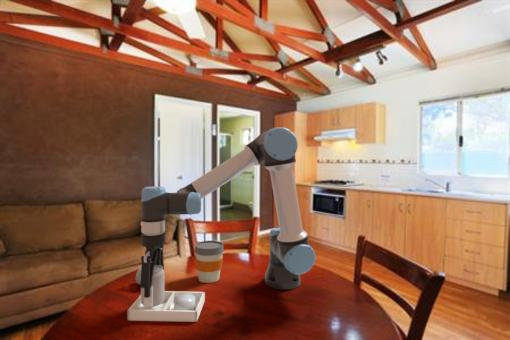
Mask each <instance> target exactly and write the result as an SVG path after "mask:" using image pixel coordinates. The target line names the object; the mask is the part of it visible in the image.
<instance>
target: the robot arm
mask: <svg viewBox="0 0 510 340" xmlns="http://www.w3.org/2000/svg"><path fill="white" fill-rule="evenodd" d="M297 150H298V140H297V137H296V135H295V133H294V132H293V131H292V130H290V129H288V128H286V127H282V126H281V127H279V126H278V127H276V126H275V127H273V128H272V127H271V128H270V129H268V130H266V131H263V132H261V133H260V134H259V135H258V136H257V137H255V138H254V139H253V140H252V141H250V142H249V143H247V144H246V145H245V146H244V148H243V150H241V151H240V152H238V153H236V154H235V155H233V156H232V157H230V158H228V159H227V160H225V161H224V162H222V163H220V164H218V165H217V166H215V167H214V168H213V169H211V170H210V171H208V172H206V173H204V174H203V175H201V176H200V177H198V178H197V179H195V180H194V181H192V182H190V183H188V184H187V185H185V186H184V187H181V188H180V189H178V190H177V191H176V192H167V191H166V187H164V186H159V185H158V186H156V185H154V186H153V185H151V186H145V187H143V188H142V189H141V201H140V206H141V208H140V211H141V213H140V216H141V217H140V218H141V219H140V220H141V222H140V224H139V225H140V226H141V228H140V230H141V231H140V232H141V235H140V245H141V246H143V247H145V252H144V255H141V258H140V260H141V266H142V267H141V266H140V267H141V283H140V284H139V285H140V286H139V288H140V289H141V288H144V306H151V307H152V306H153V286H152V278H153V271H154V265H160V266H162V267H163V268H162V269H163V270H164V271H165V267H164V266H165V265H164V264H165V263H164V261H165V260H164V244H165V242H166V233H165V231H166V216H170V215H173V216H174V215H175V216H176V215H178V216H179V215H182V216H183V215H189V216H192V215H198V214H201V211H202V199H203V198H205V197H207V196H208V195H210V194H212V193H213V192H214V191H216V190H218V189H219V188H220V187H222V186H223V185H226V184H227V183H229V181H232V180H233V179H235V178H236V177H238V176H239V175H241V174H243V173H244V172H246V171H247V170H249V169H250V168H252V167H254V166H257V167H258V166H260V165H261V164H262V163H263V164H264V168H265V169H266V170H268V171H269V176H270V180H271V187H272V192H273V198H274V204H275V210H276V216H277V223H278V227H274V228H272V229H270V231H269V253H268V254H269V261H268V262H269V263H268V266H267V269H266V272H265V274H264V283H265V284H266V285H267V286H269V287H270V288H272V289H276V290H283V291H285V290H286V291H287V290H293V289H297V288H298V287H299V286H300V285H301V276H300V275H303V274H306V273H308V272H309V271H311V269H312V268H313V267H314V265H315V263H316V258H317V257H316V252H315V250H314V249H313V247H312V246H311V245H310V241H309V235H308V232H307V231H306V230H304V228H303V223H302V217H301V209H300V205H299V200H298V192H297V186H296V185H297V184H296V180H295V174H294V165H296V162H297V161H296V159H297V158H296V152H297Z"/></svg>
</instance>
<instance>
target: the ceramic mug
mask: <svg viewBox="0 0 510 340" xmlns="http://www.w3.org/2000/svg"><path fill="white" fill-rule="evenodd" d="M141 267H142V265H141V266H139V268H138V269H137V271H136V274H135V277H134V278H135V282H136V284H137V285H140V283H141Z"/></svg>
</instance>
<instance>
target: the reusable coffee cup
mask: <svg viewBox="0 0 510 340" xmlns="http://www.w3.org/2000/svg"><path fill="white" fill-rule="evenodd" d="M194 246H195V247H194V253H195V258H194V259H195V267H196V270H197V276H198V281H199V282H200V283H205V284H212V283H215V282H217V281H219V280H220V275H221V270H222V267H223V262H224V256H223V254H224V251H225V250H224V248H225V247H224V243H223V242H222V241H219V240H202V241H199V242H197V243H196V244H195V245H194Z"/></svg>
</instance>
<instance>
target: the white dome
mask: <svg viewBox="0 0 510 340" xmlns="http://www.w3.org/2000/svg"><path fill="white" fill-rule="evenodd" d="M174 310H188V311H195V296H194V295H193V294H180V295H178V296H176V297H175V298H174Z"/></svg>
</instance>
